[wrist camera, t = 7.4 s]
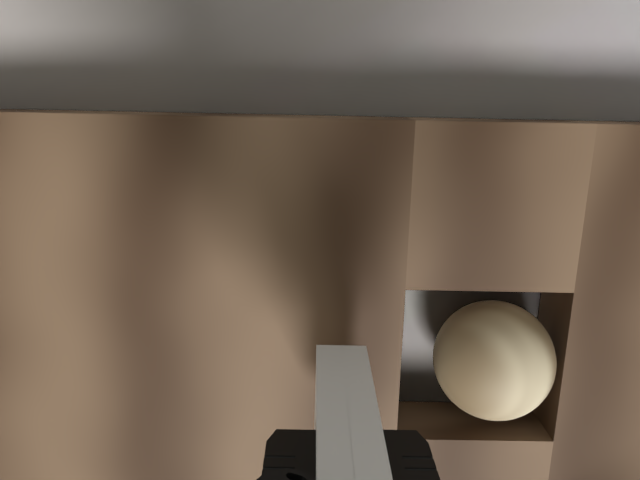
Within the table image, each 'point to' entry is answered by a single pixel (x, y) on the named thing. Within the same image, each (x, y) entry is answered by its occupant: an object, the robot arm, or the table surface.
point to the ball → (494, 360)
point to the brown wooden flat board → (302, 284)
